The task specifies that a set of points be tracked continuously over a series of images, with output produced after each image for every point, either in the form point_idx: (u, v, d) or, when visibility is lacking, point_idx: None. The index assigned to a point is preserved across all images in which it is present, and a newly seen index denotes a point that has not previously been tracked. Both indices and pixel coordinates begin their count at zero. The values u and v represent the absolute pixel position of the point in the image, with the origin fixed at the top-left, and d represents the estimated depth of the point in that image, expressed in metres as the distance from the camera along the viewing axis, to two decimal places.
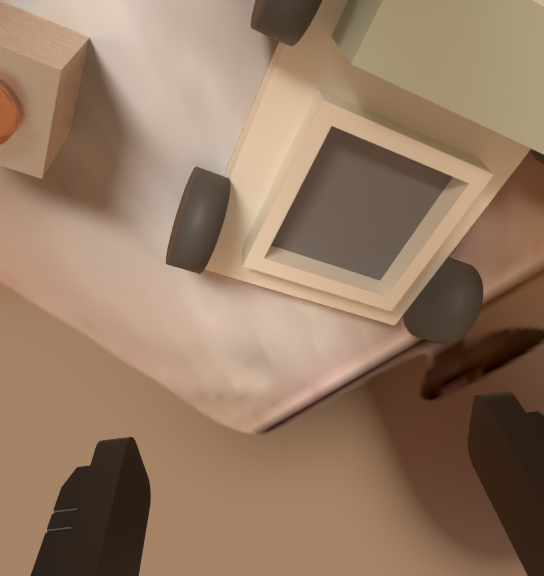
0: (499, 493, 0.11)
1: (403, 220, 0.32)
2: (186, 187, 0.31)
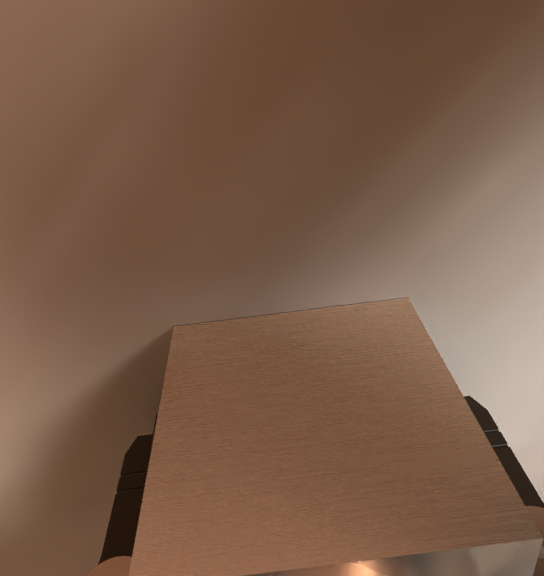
0: None
1: None
2: None
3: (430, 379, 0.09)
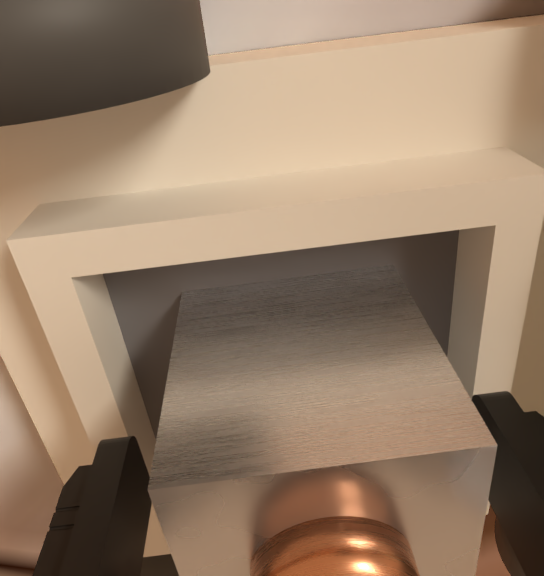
0: (497, 492, 0.11)
1: None
2: None
3: (409, 329, 0.11)
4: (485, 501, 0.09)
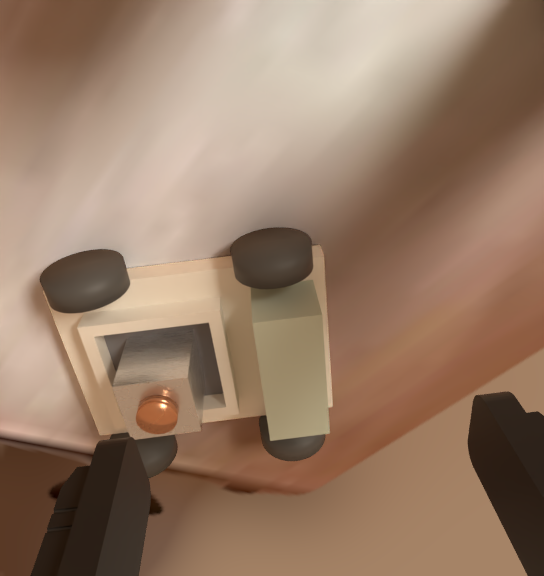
0: (499, 493, 0.11)
1: None
2: (98, 252, 0.39)
3: (185, 350, 0.39)
4: (190, 391, 0.37)
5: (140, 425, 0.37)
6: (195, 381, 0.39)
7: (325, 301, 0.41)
